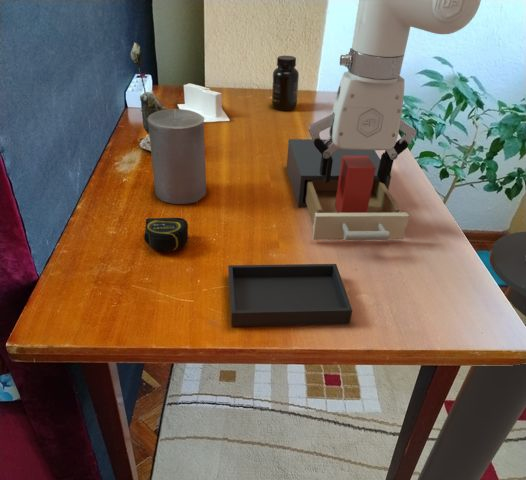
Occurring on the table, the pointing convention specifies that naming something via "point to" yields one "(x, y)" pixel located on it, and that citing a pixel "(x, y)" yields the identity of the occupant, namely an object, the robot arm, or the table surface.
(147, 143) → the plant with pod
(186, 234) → the tape measure
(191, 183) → the pillar candle
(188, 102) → the napkin holder
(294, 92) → the supplement bottle
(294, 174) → the cabinet
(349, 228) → the drawer
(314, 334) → the table surface
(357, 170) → the card box
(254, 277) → the tray
